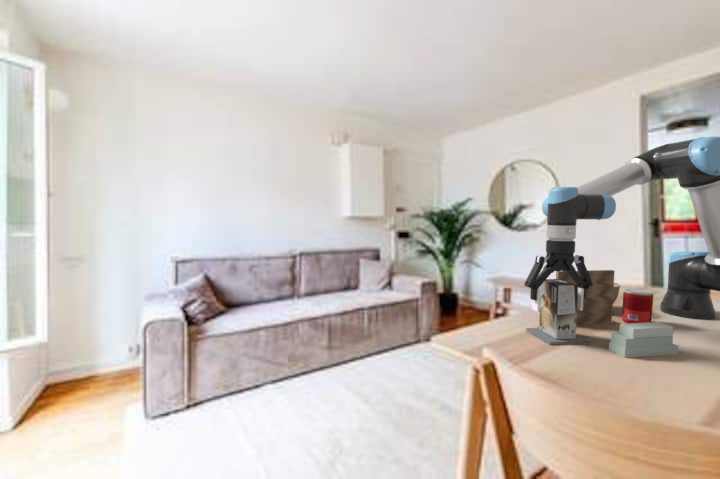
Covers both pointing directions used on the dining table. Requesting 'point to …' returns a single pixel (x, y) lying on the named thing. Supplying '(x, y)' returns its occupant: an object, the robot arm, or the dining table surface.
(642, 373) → the dining table surface
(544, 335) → the mat
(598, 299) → the upright wooden block
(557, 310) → the coffee box
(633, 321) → the canned food
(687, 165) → the robot arm
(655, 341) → the offcut stack
